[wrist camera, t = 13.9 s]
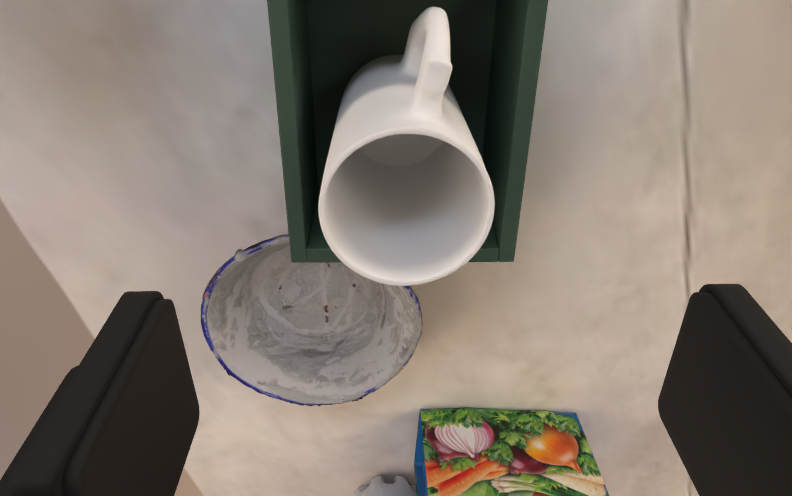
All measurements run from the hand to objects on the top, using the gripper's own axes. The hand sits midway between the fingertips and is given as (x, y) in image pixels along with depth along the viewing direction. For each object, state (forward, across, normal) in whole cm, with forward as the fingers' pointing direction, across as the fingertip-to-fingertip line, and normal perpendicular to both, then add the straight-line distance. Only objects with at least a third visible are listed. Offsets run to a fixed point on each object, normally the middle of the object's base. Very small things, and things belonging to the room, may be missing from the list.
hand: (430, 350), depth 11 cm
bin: (+25, 0, +2) cm, 25 cm away
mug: (+24, 0, +2) cm, 24 cm away
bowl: (+25, +6, +16) cm, 30 cm away
